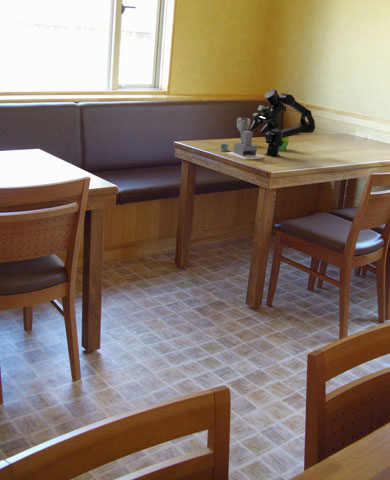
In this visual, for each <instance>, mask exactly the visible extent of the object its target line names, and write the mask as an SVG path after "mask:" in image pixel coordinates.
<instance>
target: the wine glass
mask: <svg viewBox="0 0 390 480" xmlns="http://www.w3.org/2000/svg"><path fill="white" fill-rule="evenodd" d="M250 124H251V118H246V117H237V119H236V127H237V129H238V131H239V133H240V141H236V142H234V144H235V143H241V140H242V132H243V131H248V129H250V128H249V127H250V126H251V125H250Z"/></svg>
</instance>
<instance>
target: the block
mask: <svg viewBox="0 0 390 480" xmlns="http://www.w3.org/2000/svg"><path fill="white" fill-rule="evenodd" d="M219 151H220V152H225V153H226V152H228V151H229V143H228V142H220V149H219Z"/></svg>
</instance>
